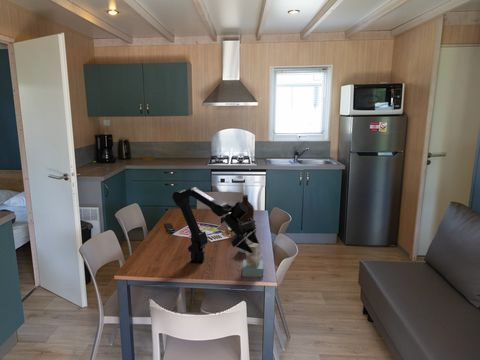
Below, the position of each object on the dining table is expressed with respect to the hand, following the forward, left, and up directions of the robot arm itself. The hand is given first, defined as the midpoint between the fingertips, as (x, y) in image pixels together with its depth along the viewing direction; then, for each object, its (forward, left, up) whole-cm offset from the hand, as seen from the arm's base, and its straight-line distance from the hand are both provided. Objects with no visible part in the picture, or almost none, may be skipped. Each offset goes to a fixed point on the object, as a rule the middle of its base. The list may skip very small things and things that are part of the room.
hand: (255, 249), depth 164 cm
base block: (-1, 0, -12) cm, 12 cm away
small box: (-6, +27, -12) cm, 30 cm away
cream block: (-1, 0, -8) cm, 8 cm away
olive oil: (-8, +57, -12) cm, 59 cm away
